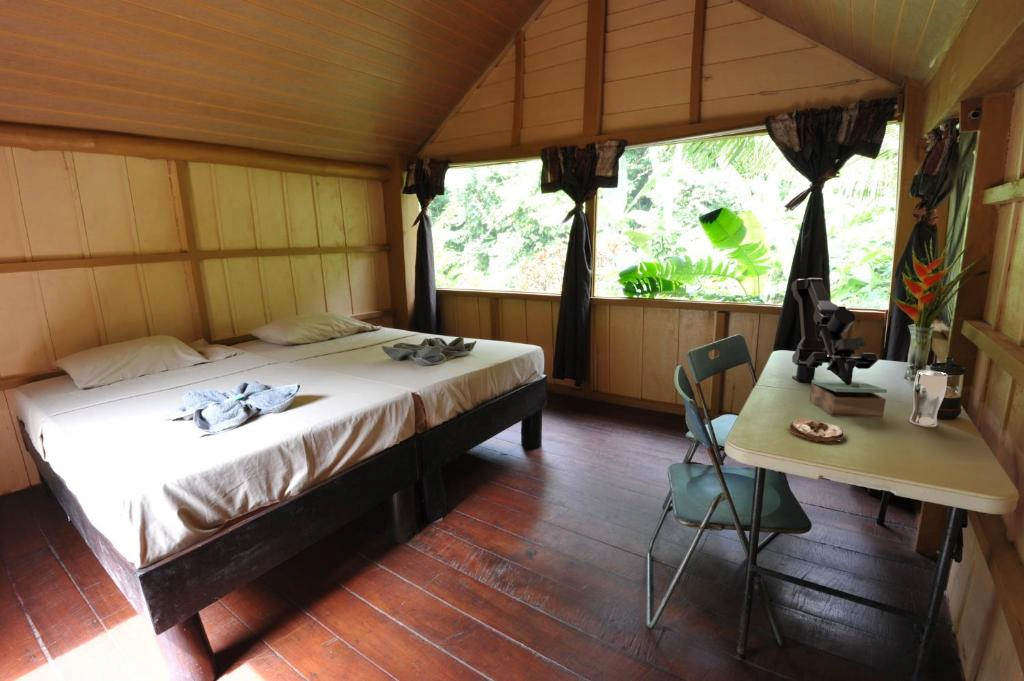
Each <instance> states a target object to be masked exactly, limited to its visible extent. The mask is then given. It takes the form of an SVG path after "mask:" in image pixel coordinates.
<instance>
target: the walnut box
mask: <svg viewBox="0 0 1024 681" xmlns="http://www.w3.org/2000/svg"><path fill="white" fill-rule="evenodd" d="M808 401H809V402H810V403H812V404H813V405H814V406H816V407H817V408H819V409H820V410H822V411H823V412H825V413H826V414H828V415H829V416H830V417H832V418H833V417H834V418H855V419H856V418H857V419H859V418H860V419H861V418H862V419H863V418H864V419H865V418H866V419H883V418H884V412H885V407H886V401H887V400H886V398H885V397H883V396H880V395H879V394H878V393H869V392H835V391H833V390H830V389H827V388H824V387H822V386H819V385H816V384H813V383H812V382H811V385H810V394H809V400H808Z"/></svg>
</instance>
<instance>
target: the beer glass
mask: <svg viewBox="0 0 1024 681" xmlns="http://www.w3.org/2000/svg"><path fill="white" fill-rule="evenodd" d="M947 384H948V374H947V373H945V372H942V371H936V370H929V369H919V370H917V371H916V375H915V378H914V382H913V389H912V396H913V397H912V399H913V400H912V401H913V403H912V404H913V408H912V412H911V415H910V417H909V422H910V423H911V424H914V425H916V426H920V427H924V428H936V427H937V426H938V420H937V419H938V417H937V416H938V411H939V409H940V407H941V405H942V404H943V403H942V402H943V401H944V398H945V396H946V390H947V387H948V386H947Z"/></svg>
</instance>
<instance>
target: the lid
mask: <svg viewBox="0 0 1024 681" xmlns="http://www.w3.org/2000/svg"><path fill="white" fill-rule="evenodd" d="M812 383H813V384H816V385H819V386H822V387H824V388H827V389H830V390H833V391H835V392H869V393H875V394H879V393H880V394H887V392H888V389H887V388H883V387H879V386H876V385H874V384H873V385H872V384H870V383H866V382H863V381H860V380H852V383H851V384H850V385H847V384H846V383H844V382H843V381H842V380H841V379H840V380H837V379H835V380H834V379H833V380H832V379H831V380H829V379H815V380H812V382H811V384H812Z"/></svg>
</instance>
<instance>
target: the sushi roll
mask: <svg viewBox="0 0 1024 681" xmlns="http://www.w3.org/2000/svg"><path fill="white" fill-rule="evenodd" d="M790 430H791V431H792V432H793V433H795V434H797V435H799V436H802V437H804V438H807V439H806V440H808V441H812V440H817V441H816V442H818V441H825V442H824V443H826V442H835V441H838V440H842V441H843V436H844V431H843V429H842V428H841V427H839V426H838V425H835V424H832V423H829V422H826V421H825V422H824V421H821V420H816V419H811V418H805V417H803V418H797V419H795V420H793V421H792V423H790V425H789V431H790ZM791 431H790V432H791ZM792 432H791V433H792ZM793 433H792V434H793ZM795 434H794V435H795ZM799 436H798V437H799ZM802 437H801V438H802ZM804 438H803V439H804ZM809 439H810V440H809ZM835 443H836V442H835Z"/></svg>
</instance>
